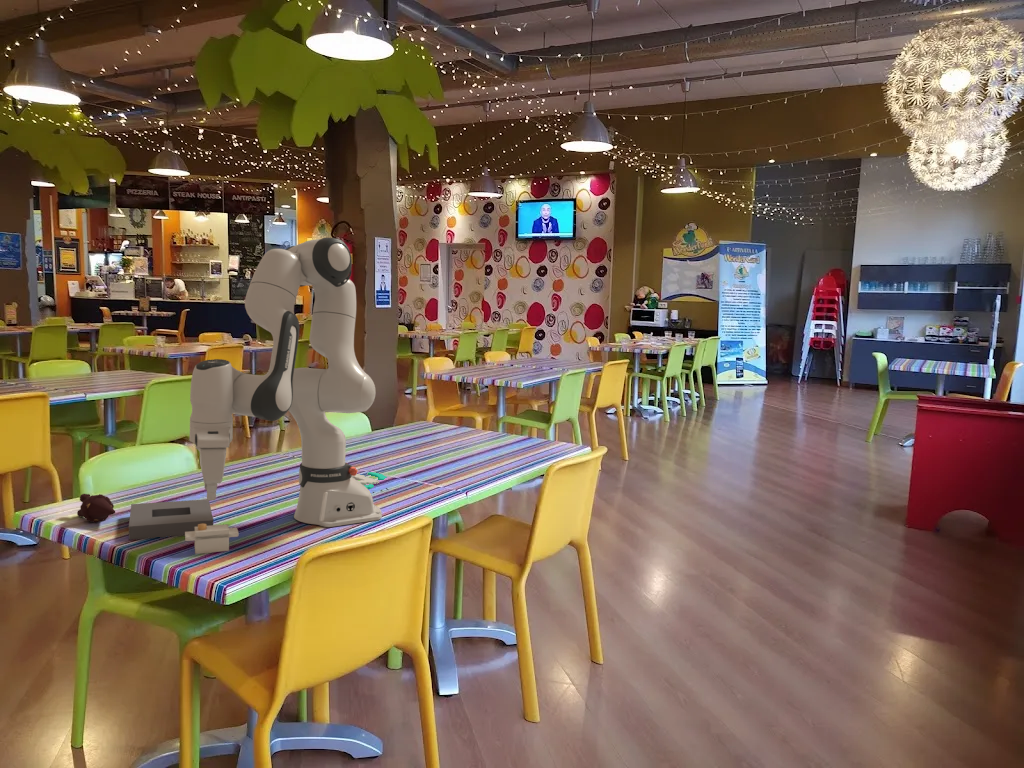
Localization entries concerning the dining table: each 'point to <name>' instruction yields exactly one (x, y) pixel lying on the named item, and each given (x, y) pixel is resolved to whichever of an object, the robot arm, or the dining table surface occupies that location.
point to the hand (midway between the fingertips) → (210, 494)
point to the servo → (211, 537)
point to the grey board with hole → (168, 518)
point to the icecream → (95, 507)
